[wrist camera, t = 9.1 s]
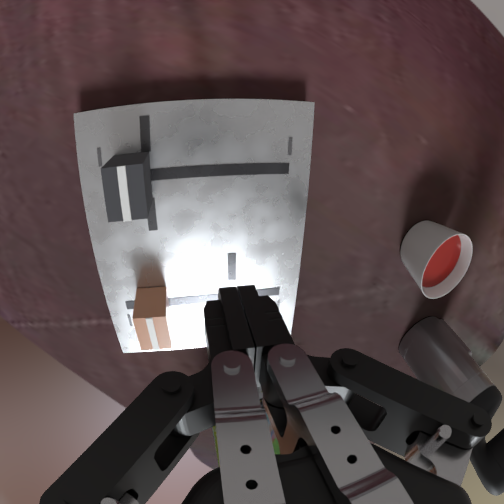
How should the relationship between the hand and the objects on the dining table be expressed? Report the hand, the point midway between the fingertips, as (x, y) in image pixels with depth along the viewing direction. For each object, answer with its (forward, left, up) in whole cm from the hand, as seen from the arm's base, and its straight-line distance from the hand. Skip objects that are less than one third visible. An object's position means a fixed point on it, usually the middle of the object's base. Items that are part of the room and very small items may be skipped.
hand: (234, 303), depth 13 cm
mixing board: (+1, +5, -17) cm, 18 cm away
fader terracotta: (+6, +11, -15) cm, 20 cm away
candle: (-27, +8, -17) cm, 33 cm away
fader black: (+6, -2, -15) cm, 16 cm away
